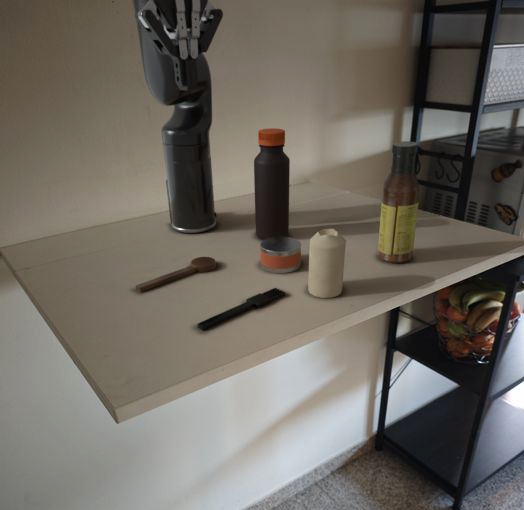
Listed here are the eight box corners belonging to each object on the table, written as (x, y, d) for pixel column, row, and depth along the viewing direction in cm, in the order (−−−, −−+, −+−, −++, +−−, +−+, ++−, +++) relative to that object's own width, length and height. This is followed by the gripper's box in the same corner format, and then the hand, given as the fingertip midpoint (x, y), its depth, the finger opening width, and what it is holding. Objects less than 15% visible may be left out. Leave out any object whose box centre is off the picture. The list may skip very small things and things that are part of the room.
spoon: (145, 295, 81) (144, 289, 80) (131, 286, 84) (130, 281, 83) (220, 267, 90) (220, 261, 89) (205, 260, 92) (205, 254, 92)
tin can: (252, 265, 90) (251, 244, 88) (279, 253, 94) (279, 233, 92) (281, 277, 86) (281, 255, 84) (308, 264, 90) (309, 243, 88)
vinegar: (269, 244, 98) (268, 135, 87) (249, 234, 103) (245, 130, 92) (295, 236, 102) (297, 130, 91) (274, 227, 106) (274, 126, 95)
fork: (205, 332, 71) (205, 328, 71) (194, 326, 73) (194, 321, 72) (285, 295, 80) (286, 291, 80) (274, 290, 82) (274, 286, 81)
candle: (340, 299, 78) (345, 239, 73) (305, 296, 80) (307, 236, 74) (343, 284, 83) (348, 226, 77) (310, 281, 84) (312, 224, 78)
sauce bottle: (414, 254, 93) (432, 140, 82) (407, 266, 88) (426, 148, 77) (379, 248, 95) (393, 138, 84) (371, 261, 91) (384, 145, 80)
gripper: (198, -63, 67) (208, 83, 76) (108, -71, 59) (132, 92, 69) (234, -70, 62) (240, 87, 72) (142, -79, 55) (162, 97, 64)
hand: (187, 89), depth 70 cm, fingers closed
